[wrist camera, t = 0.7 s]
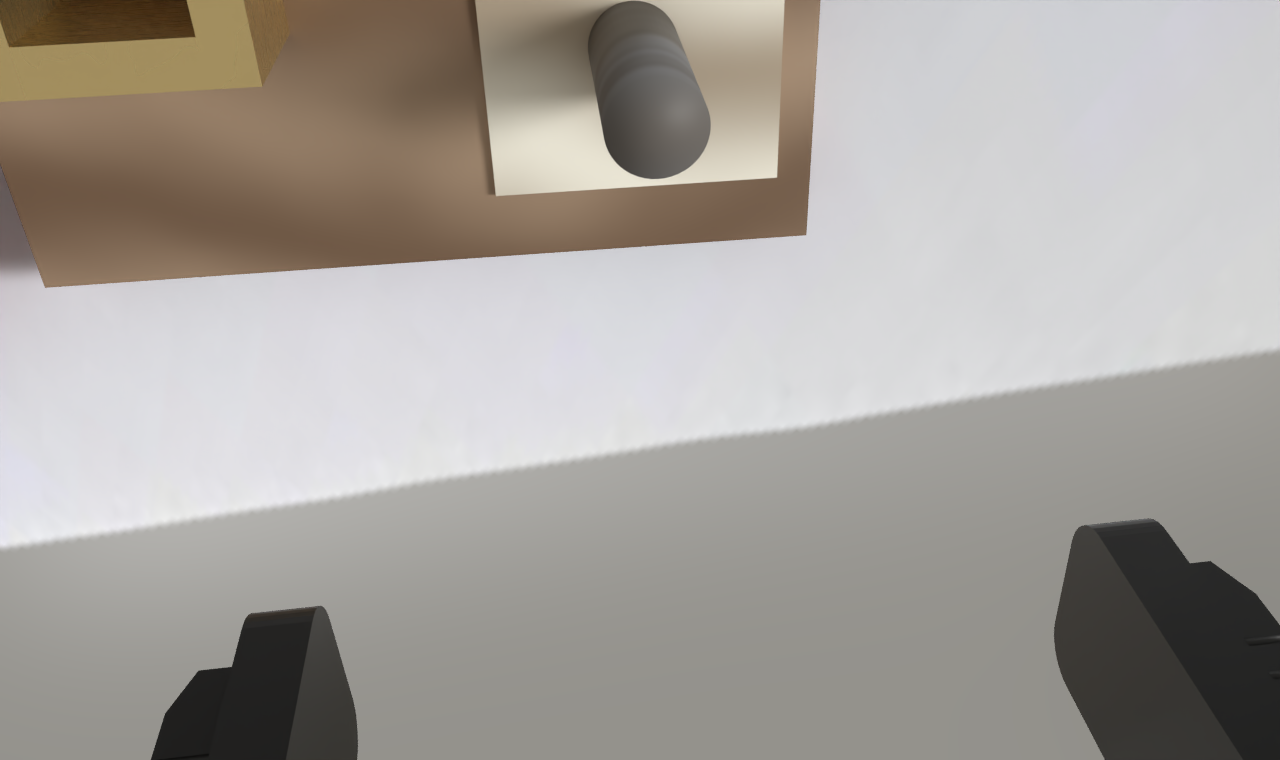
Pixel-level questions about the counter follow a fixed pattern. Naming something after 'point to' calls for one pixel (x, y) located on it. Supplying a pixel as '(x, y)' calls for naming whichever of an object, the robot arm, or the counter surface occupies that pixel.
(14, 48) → the collar
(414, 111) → the post board
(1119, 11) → the counter surface
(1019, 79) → the counter surface
